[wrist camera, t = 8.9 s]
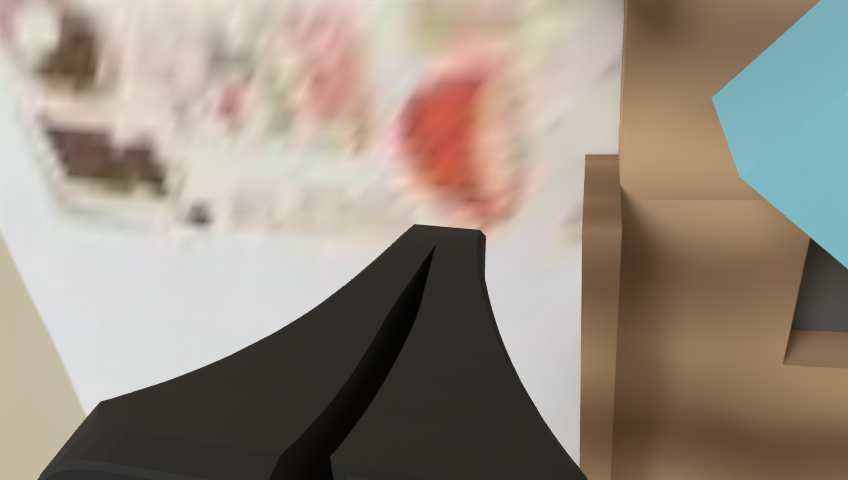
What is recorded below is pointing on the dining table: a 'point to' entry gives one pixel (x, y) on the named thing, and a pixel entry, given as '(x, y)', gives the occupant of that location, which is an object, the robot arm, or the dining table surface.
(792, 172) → the block
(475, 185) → the dining table surface
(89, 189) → the dining table surface
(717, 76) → the tray
